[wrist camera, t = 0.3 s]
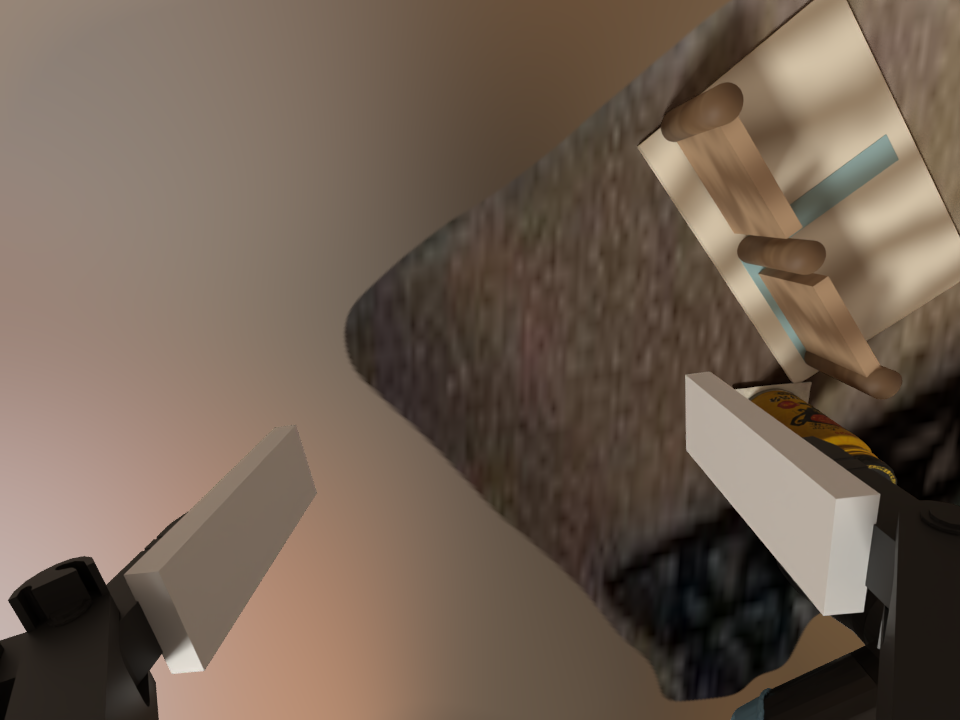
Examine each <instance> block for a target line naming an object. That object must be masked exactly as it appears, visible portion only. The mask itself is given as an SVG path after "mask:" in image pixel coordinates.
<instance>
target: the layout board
mask: <svg viewBox="0 0 960 720" xmlns="http://www.w3.org/2000/svg"><path fill="white" fill-rule="evenodd" d="M725 82H730V83H733V84H735V85H737V86H738V87H739V88H740V89H741V91H742V94H743V99H744V101H743V107H742V110H741V112H740V114H739V115H738V116H739V118H740V120H741V122H742V123H743V125H744V127H745V129H746V130H747V132H748V134H749V135H750V137H751V139H752V141H753V142H754V144H755V146H756V148H757V149H758V151H759V153H760V154H761V156H762V158H763V160H764V161H765V163H766V165H767V166H768V168H769V170H770V172H771V173H772V175H773V177H774V179H775V180H776V182H777V184H778V185H779V187H780V189H781V191H782V192H783V194H784V196H785V198H786V199H787V201H788V203H789V204H790V206H791V208H792V210H793V211H794V213H795V215H796V217H797V218H798V220H799V222H800V223H801V225H802V227H803V228H801V229H800V230H798V231H797V232H796V233H794V234H793V235H792V236H790V237H789V238H794V239H804V240H814V241H818V242H820V243H822V244H823V246H824V247H825V250H826V258H825V261H824V263H823V265H822V266H821V267H820V268H819V269H818V270H817V271H815V272H814V273H815V274H820V275H825V276H829V278H830V280H831V282H832V283H833V285H834V287H835V288H836V290H837V292H838V294H839V295H840V297H841V299H842V300H843V302H844V304H845V306H846V307H847V309H848V311H849V312H850V314H851V316H852V318H853V319H854V321H855V323H856V325H857V326H858V328H859V330H860V331H861V333H862V335H863V337H864V338H865V340H866V341H867V340H869V339H870V338H872V337H873V336H875V335H877V334H878V333H880V332H881V331H883V330H884V329H886V328H888V327H889V326H891V325H892V324H894V323H895V322H897V321H899V320H900V319H902V318H903V317H905V316H906V315H908V314H910V313H911V312H913V311H914V310H916V309H917V308H919V307H921V306H922V305H924V304H925V303H927V302H928V301H930V300H932V299H933V298H935V297H936V296H938V295H939V294H941V293H943V292H944V291H946V290H947V289H949V288H950V287H952V286H954V285H955V284H957V283H958V282H960V237H959V235H958V232H957V230H956V228H955V226H954V224H953V222H952V220H951V218H950V216H949V214H948V212H947V209H946V207H945V205H944V203H943V201H942V199H941V197H940V195H939V193H938V191H937V189H936V186H935V184H934V182H933V180H932V178H931V176H930V174H929V172H928V170H927V168H926V166H925V163H924V161H923V159H922V157H921V155H920V153H919V151H918V149H917V147H916V145H915V143H914V140H913V138H912V136H911V134H910V132H909V130H908V128H907V126H906V124H905V122H904V120H903V117H902V115H901V113H900V111H899V109H898V107H897V105H896V103H895V101H894V99H893V97H892V94H891V92H890V90H889V88H888V86H887V84H886V82H885V80H884V78H883V76H882V74H881V71H880V69H879V67H878V65H877V63H876V61H875V59H874V57H873V55H872V53H871V51H870V48H869V46H868V44H867V42H866V40H865V38H864V36H863V34H862V32H861V30H860V28H859V25H858V23H857V21H856V19H855V17H854V15H853V13H852V11H851V9H850V7H849V5H848V2H847V0H813V1H812V2H810V3H809V4H808V5H807V6H806V7H804V8H803V9H802V10H801V11H800V12H798V13H797V14H796V15H795V16H794V17H792V18H791V19H790V20H789V21H788V22H786V23H785V24H784V25H783V26H782V27H780V28H779V29H778V30H777V31H776V32H774V33H773V34H772V35H771V36H770V37H768V38H767V39H766V40H765V41H764V42H762V43H761V44H760V45H759V46H758V47H756V48H755V49H754V50H753V51H752V52H750V53H749V54H748V55H747V56H746V57H744V58H743V59H742V60H741V61H740V62H738V63H737V64H736V65H735V66H734V67H732V68H731V69H730V70H729V71H728V72H726V73H725V74H724V75H723V76H722V77H720V78H719V79H718V80H717V81H715V82H714V83H713V84H712V85H711V86H709V87H708V88H707V89H706V90H705V91H703V92H702V93H704V92H706V91H708V90H709V89H711V88H713V87H715V86H717V85H719V84H721V83H725ZM702 93H701V94H702ZM637 147H638V149H639V150H640V152H641V153H642V155H643V157H644V158H645V160H646V161H647V163H648V164H649V166H650V167H651V169H652V170H653V172H654V173H655V175H656V176H657V178H658V179H659V181H660V182H661V184H662V186H663V187H664V189H665V190H666V192H667V193H668V195H669V196H670V198H671V199H672V201H673V202H674V204H675V205H676V207H677V208H678V210H679V212H680V213H681V215H682V216H683V218H684V219H685V221H686V222H687V224H688V225H689V227H690V228H691V230H692V231H693V233H694V234H695V236H696V237H697V239H698V241H699V242H700V244H701V245H702V247H703V248H704V250H705V251H706V253H707V254H708V256H709V257H710V259H711V260H712V262H713V263H714V265H715V266H716V268H717V270H718V271H719V273H720V274H721V276H722V277H723V279H724V280H725V282H726V283H727V285H728V286H729V288H730V289H731V291H732V292H733V294H734V296H735V297H736V299H737V300H738V302H739V303H740V305H741V306H742V308H743V309H744V311H745V312H746V314H747V315H748V317H749V318H750V320H751V321H752V323H753V325H754V326H755V328H756V329H757V331H758V332H759V334H760V335H761V337H762V338H763V340H764V341H765V343H766V344H767V346H768V347H769V349H770V350H771V352H772V354H773V355H774V357H775V358H776V360H777V361H778V363H779V364H780V366H781V367H782V369H783V370H784V372H785V373H786V375H787V376H788V378H789V379H790V381H791V383H801V382H803V381H804V380H806V379H808V378H809V377H811V376H812V375H814V374H815V373H817V372H819V370H817V369H815V368H813V367H810V366H808V365H807V364H806V362H805V360H804V356H805V353H806V349H805V347H804V346H803V344H802V343H801V341H800V339H799V338H798V336H797V335H796V333H795V332H794V330H793V328H792V327H791V325H790V324H789V322H788V320H787V319H786V317H785V316H784V314H783V312H782V311H781V309H780V308H779V306H778V304H777V303H776V301H775V300H774V298H773V297H772V295H771V293H770V292H769V290H768V289H767V287H766V285H765V284H764V282H763V281H762V279H761V277H760V276H759V274H758V273H760V272H761V271H762V270H764V269H765V268H767V267H763V266H758V265H753V264H748V263H745V262H743V261H741V260H740V258H739V257H738V254H737V249H738V246H739V244H740V242H741V241H742V240H743V239H744V238H746V237H748V236H750V235H744V234H734V232H733V231H732V229H731V228H730V226H729V224H728V223H727V221H726V220H725V218H724V216H723V215H722V213H721V212H720V210H719V208H718V207H717V205H716V204H715V202H714V200H713V199H712V197H711V196H710V194H709V192H708V191H707V189H706V188H705V186H704V184H703V183H702V181H701V180H700V178H699V177H698V175H697V173H696V172H695V170H694V169H693V167H692V165H691V164H690V162H689V161H688V159H687V157H686V156H685V154H684V153H683V151H682V149H681V148H680V146H679V145H678V143H677V142H670V141H668V140H666V139H665V138H664V136H663V135H662V132H661V127H660V128H659V129H658V130H657V131H655V132H654V133H653V134H652V135H651V136H649V137H648V138H647V139H646V140H645V141H643V142H642V143H641V144H640V145H639V146H637Z"/></svg>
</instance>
